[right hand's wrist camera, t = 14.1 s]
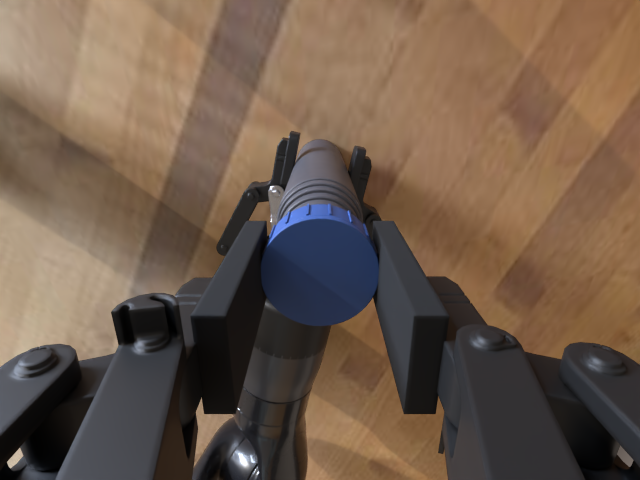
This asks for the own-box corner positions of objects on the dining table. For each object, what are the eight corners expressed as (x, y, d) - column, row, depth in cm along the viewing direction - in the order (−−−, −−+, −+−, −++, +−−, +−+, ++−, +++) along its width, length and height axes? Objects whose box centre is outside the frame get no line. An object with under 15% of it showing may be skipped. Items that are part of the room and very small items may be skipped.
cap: (358, 188, 13) (364, 200, 12) (385, 287, 15) (393, 310, 13) (249, 220, 14) (240, 236, 12) (286, 313, 15) (282, 339, 14)
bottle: (343, 139, 34) (383, 211, 12) (342, 185, 35) (377, 321, 14) (296, 139, 34) (255, 212, 12) (297, 185, 35) (263, 322, 14)
